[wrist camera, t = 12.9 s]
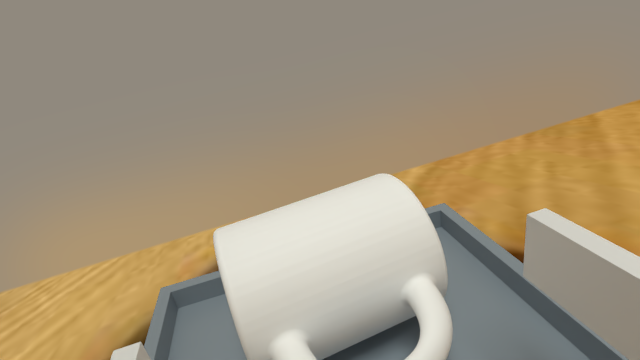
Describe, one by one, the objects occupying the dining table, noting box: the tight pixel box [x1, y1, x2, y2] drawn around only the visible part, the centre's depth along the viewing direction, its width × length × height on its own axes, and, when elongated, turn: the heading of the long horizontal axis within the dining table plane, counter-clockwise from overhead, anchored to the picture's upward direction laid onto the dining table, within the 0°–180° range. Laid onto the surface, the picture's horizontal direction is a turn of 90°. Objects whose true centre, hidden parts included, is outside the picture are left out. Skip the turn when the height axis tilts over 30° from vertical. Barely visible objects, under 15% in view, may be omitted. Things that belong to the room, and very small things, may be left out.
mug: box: [213, 174, 453, 360], centre depth 17 cm, size 12×10×8 cm
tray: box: [144, 203, 629, 360], centre depth 19 cm, size 22×17×2 cm
